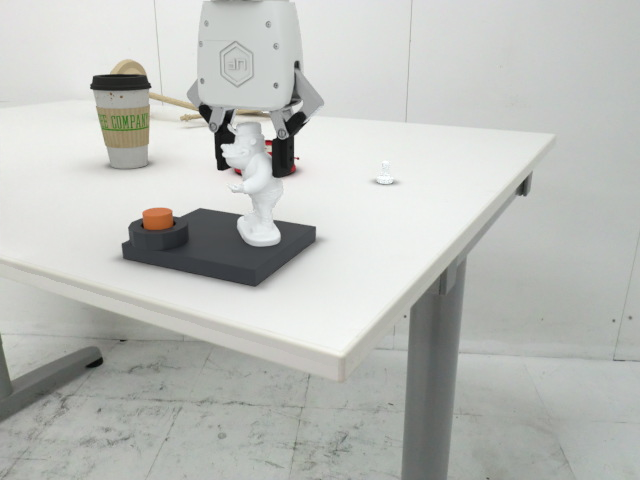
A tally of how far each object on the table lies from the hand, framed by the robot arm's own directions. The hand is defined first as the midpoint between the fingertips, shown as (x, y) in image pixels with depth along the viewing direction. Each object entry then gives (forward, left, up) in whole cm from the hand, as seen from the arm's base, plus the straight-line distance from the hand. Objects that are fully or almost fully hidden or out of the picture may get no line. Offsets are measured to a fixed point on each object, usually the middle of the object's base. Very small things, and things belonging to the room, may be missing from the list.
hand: (254, 170), depth 60 cm
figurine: (0, 0, -7) cm, 7 cm away
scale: (-3, -2, -9) cm, 9 cm away
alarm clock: (-18, +33, -9) cm, 39 cm away
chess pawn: (+4, +34, -9) cm, 35 cm away
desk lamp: (-60, +77, -9) cm, 98 cm away
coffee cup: (-40, +25, -9) cm, 48 cm away
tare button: (-8, -7, -6) cm, 12 cm away
